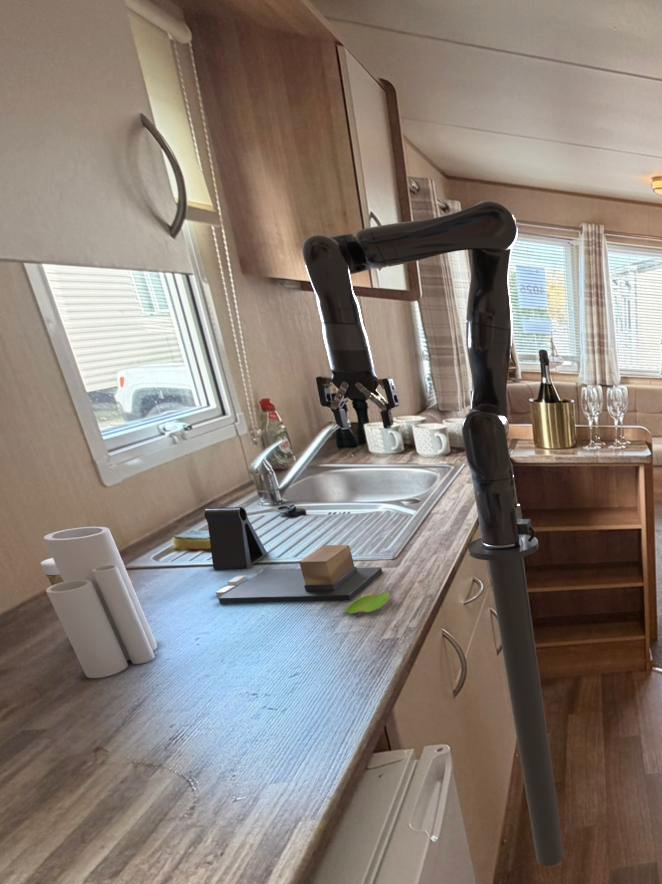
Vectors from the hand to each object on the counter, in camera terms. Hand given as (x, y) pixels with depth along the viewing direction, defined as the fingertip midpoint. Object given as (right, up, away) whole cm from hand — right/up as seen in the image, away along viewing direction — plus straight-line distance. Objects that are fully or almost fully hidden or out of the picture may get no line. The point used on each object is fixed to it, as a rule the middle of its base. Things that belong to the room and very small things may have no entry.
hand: (366, 427), depth 137 cm
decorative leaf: (+12, -38, -16) cm, 43 cm away
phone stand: (-28, -29, +1) cm, 40 cm away
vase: (-12, -47, -37) cm, 61 cm away
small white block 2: (-20, -33, -9) cm, 39 cm away
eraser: (-1, -33, -9) cm, 35 cm away
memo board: (-6, -35, -9) cm, 36 cm away
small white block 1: (-18, -35, -14) cm, 42 cm away
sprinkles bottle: (-25, -43, -30) cm, 58 cm away
